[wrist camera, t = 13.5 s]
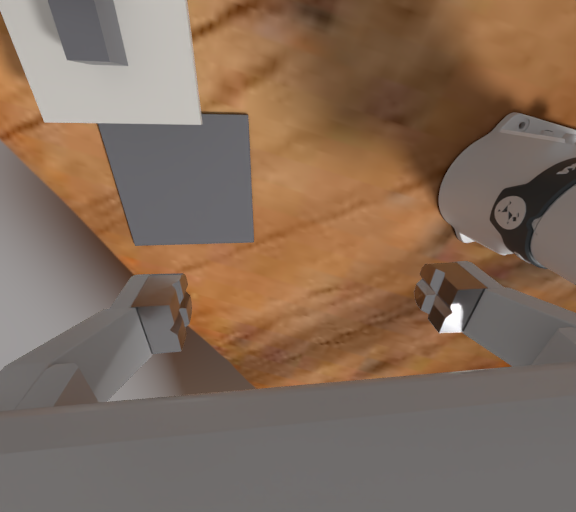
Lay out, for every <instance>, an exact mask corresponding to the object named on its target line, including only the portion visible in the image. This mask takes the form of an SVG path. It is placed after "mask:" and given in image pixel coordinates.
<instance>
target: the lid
mask: <svg viewBox="0 0 576 512" xmlns="http://www.w3.org/2000/svg"><path fill="white" fill-rule="evenodd" d="M0 11H1V14H2V16H3V19H4V21H5V24H6V27H7V29H8V32H9V34H10V37H11V39H12V42H13V44H14V47H15V49H16V52H17V54H18V57H19V59H20V62H21V64H22V67H23V69H24V72H25V74H26V77H27V79H28V82H29V85H30V87H31V90H32V92H33V95H34V97H35V100H36V102H37V105H38V107H39V110H40V112H41V115H42V117H43V120H44V122H57V123H118V124H179V125H202V116H201V108H200V100H199V92H198V84H197V76H196V68H195V60H194V52H193V44H192V36H191V28H190V20H189V12H188V4H187V0H0Z"/></svg>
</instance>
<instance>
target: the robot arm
mask: <svg viewBox="0 0 576 512" xmlns="http://www.w3.org/2000/svg"><path fill="white" fill-rule="evenodd" d="M520 123H521V124H520ZM519 124H520V126H519ZM439 209H440V212H441V214H442V216H443V218H444V219H445V220H446V221H447V222H448V223H449V224H450V225H452V226H453V227H454V229H455V232H456V235H457V238H458V239H459V240H460V241H462V242H464V243H469V242H474V241H476V242H478V243H479V244H481V245H483V246H485V247H487V248H489V249H491V250H493V251H494V252H496V253H498V254H501V255H506V254H513V253H514V254H516V255H517V256H518V257H519V258H521V259H522V260H524V261H526V262H528V263H531V264H533V265H535V266H537V267H540V268H544V269H550V270H551V271H553V272H555V273H556V274H558V275H560V276H561V277H563V278H565V279H566V280H568V281H570V282H571V283H573V284H575V285H576V130H574V129H571V128H568V127H564V126H561V125H558V124H554V123H551V122H548V121H544V120H541V119H538V118H534V117H531V116H528V115H524V114H521V113H516V112H513V113H510V114H508V115H507V116H506V117H505V118H503V119H502V120H501V121H500V123H499V124H498V125H497V126H496V127H495V128H494V129H493V130H492V131H491V132H490V133H489V134H487V135H486V136H484V137H482V138H481V139H479V140H477V141H476V142H474V143H473V144H471V145H470V146H469V147H468V148H466V149H465V150H464V151H463V152H462V153H461V154H460V155H459V156H458V157H457V158H456V159H455V161H454V162H453V163H452V165H451V166H450V168H449V169H448V171H447V173H446V174H445V176H444V179H443V181H442V184H441V187H440V191H439ZM420 275H421V277H422V279H421V280H420V281H419V282H418V283H417V284H416V287H415V291H414V295H415V301H416V303H417V305H418V307H419V308H420V309H421V310H422V311H424V312H426V313H428V320H429V321H430V322H431V323H432V325H433V326H434V327H435V329H436V330H437V331H438V332H439V333H454V332H463V334H465V335H466V336H468V337H469V338H471V339H472V340H474V341H475V342H477V343H478V344H480V345H481V346H483V347H484V348H486V349H487V350H489V351H490V352H492V353H493V354H495V355H496V356H498V357H499V358H501V359H502V360H504V361H505V362H507V363H508V364H510V365H511V366H513V367H504V368H492V369H480V370H469V371H457V372H446V373H434V374H422V375H411V376H399V377H388V378H376V379H365V380H353V381H342V382H330V383H319V384H307V385H296V386H284V387H273V388H261V389H251V390H238V391H227V392H216V393H204V394H193V395H181V396H169V397H158V398H147V399H136V400H123V401H112V402H107V401H108V400H109V399H110V398H111V397H112V396H113V395H114V394H115V393H116V392H117V391H118V390H119V389H120V388H121V387H122V386H123V385H124V384H125V383H126V382H127V381H128V380H129V378H131V377H132V376H133V375H134V374H135V373H136V372H137V371H138V369H139V368H140V367H141V366H142V365H143V364H144V363H145V362H146V361H147V360H148V359H149V358H150V357H151V356H152V354H156V353H157V354H158V353H167V352H178V351H181V350H182V348H183V344H184V341H185V337H186V330H185V327H186V326H187V325H188V324H190V320H191V314H192V302H191V297H190V295H189V294H188V293H187V292H186V289H187V286H188V283H187V278H186V276H185V274H143V275H134V276H132V277H131V278H130V279H129V281H128V282H127V284H126V285H125V287H124V288H123V290H122V291H121V292H120V294H119V295H118V297H117V299H116V300H115V301H114V303H113V304H112V306H111V307H110V309H103V310H102V311H100V312H98V313H96V314H95V315H93V316H91V317H90V318H88V319H86V320H84V321H82V322H81V323H79V324H77V325H75V326H74V327H72V328H70V329H69V330H67V331H65V332H63V333H62V334H60V335H58V336H56V337H55V338H53V339H51V340H50V341H48V342H46V343H44V344H43V345H41V346H39V347H37V348H36V349H34V350H32V351H30V352H29V353H27V354H25V355H23V356H22V357H20V358H18V359H17V360H15V361H13V362H11V363H10V364H8V365H6V366H5V367H4V368H3V369H2V370H1V371H0V512H576V313H574V312H572V311H569V310H566V309H564V308H561V307H558V306H556V305H553V304H551V303H548V302H545V301H543V300H540V299H537V298H535V297H532V296H529V295H527V294H524V293H521V292H519V291H516V290H514V289H511V288H504V287H503V286H501V285H500V284H499V283H497V282H496V281H495V280H494V279H492V278H491V277H490V276H488V275H487V274H486V273H484V272H483V271H482V270H480V269H479V268H478V267H477V266H475V265H474V264H473V263H471V262H468V261H461V262H451V263H434V264H425V265H424V266H423V267H422V269H421V272H420Z"/></svg>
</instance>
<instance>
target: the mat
mask: <svg viewBox="0 0 576 512" xmlns="http://www.w3.org/2000/svg"><path fill="white" fill-rule="evenodd" d="M201 116H202V125H179V124H118V123H98V125H99V129H100V132H101V135H102V139H103V142H104V145H105V148H106V152H107V155H108V158H109V162H110V165H111V168H112V171H113V175H114V178H115V181H116V184H117V188H118V191H119V194H120V198H121V201H122V204H123V207H124V211H125V214H126V217H127V221H128V224H129V227H130V230H131V234H132V237H133V240H134V243H135V246H140V245H175V244H211V243H246V242H254V231H253V209H252V188H251V166H250V144H249V122H248V115H229V114H201Z"/></svg>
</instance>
